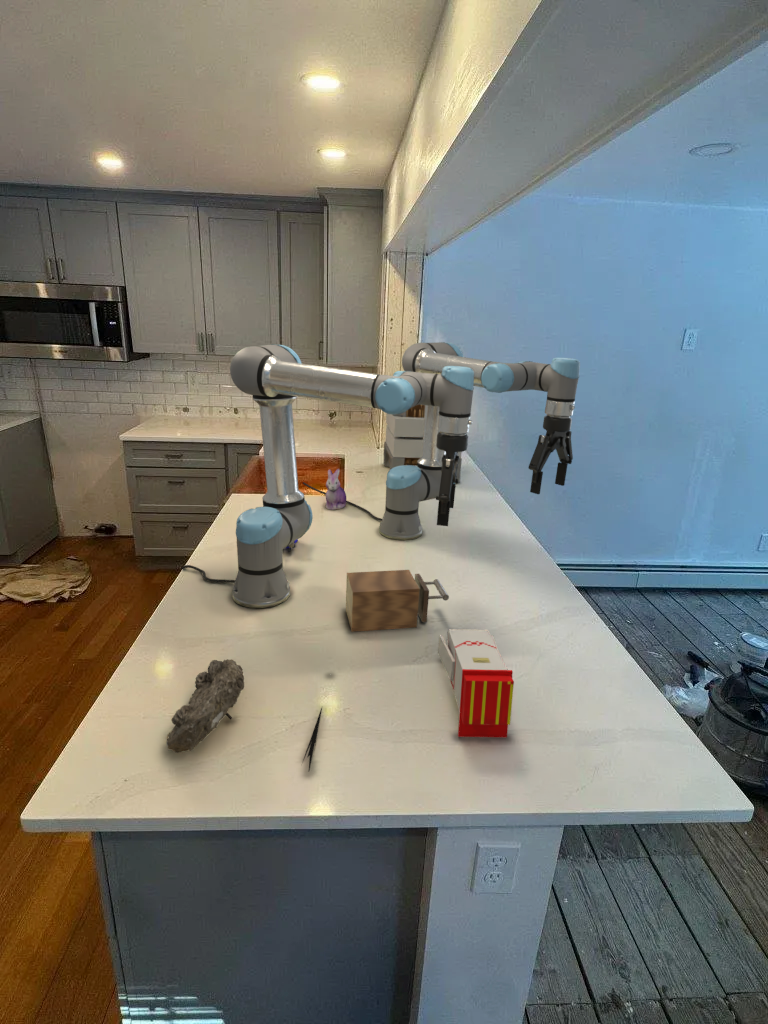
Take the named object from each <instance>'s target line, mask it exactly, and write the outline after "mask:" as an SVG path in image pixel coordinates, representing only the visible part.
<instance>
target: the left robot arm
mask: <svg viewBox="0 0 768 1024" xmlns="http://www.w3.org/2000/svg"><path fill="white" fill-rule="evenodd" d="M229 372H230V373H229V374H230V377H231V378H230V379H231V380H232V383H233V384H234V385H235V387H236V388H237V389H238V390H239V391H241V392H243V393H244V394H246V395H250V396H252V400H253V401H254V402H255V403H257V405H258V407H259V416H260V417H259V418H260V427H261V438H262V450H263V460H264V471H265V482H266V483H265V484H266V493H265V494H264V495H263V496H262V499H261V500H262V506H256V507H255V508H248V509H246V510H245V511H242V513H240V515H238V517H237V519H236V524H235V525H236V526H235V536H236V551H237V554H236V555H237V573H236V577H235V579H220V578H219V579H218V578H217V579H216V578H210V577H207V574H206V572H205V571H204V570H203V569H201V568H199V567H197V566H195V565H191V564H185V565H183V566H181V568H180V570H185V569H193V570H195V571H197V572H199V573H201V574H202V578H203V579H204V580H205V581H207V582H211V583H228V584H229V583H233V585H232V586H233V587H232V592H231V594H232V600H233V601H234V603H236V604H238V605H240V606H242V607H245V608H251V609H264V608H265V609H266V608H271V607H275V606H278V605H280V604H283V603H284V602H286V601H287V600H288V599H289V598H290V595H291V587H290V581H289V579H288V578H287V575H286V572H285V569H284V566H283V564H284V563H283V561H284V560H283V550H285V549H287V548H286V547H287V546H289V545H290V544H291V543H293V542H294V541H295V540H297V539H298V540H299V539H301V538H302V537H303V536H304V535H305V534H306V533H307V532H308V531H309V529H310V528H311V526H312V524H313V518H314V517H313V510H312V507H311V505H310V504H308V502H307V500H306V497H305V493H304V492H302V491H301V490H300V489H299V479H298V478H299V477H298V466H297V465H298V464H297V453H296V439H295V427H294V426H295V425H294V413H293V403H294V401H296V399H297V398H303V399H310V400H317V401H325V402H330V403H338V404H345V405H350V406H358V407H365V408H372V409H376V410H380V411H382V412H383V413H385V414H386V413H387V414H401V413H404V412H405V411H407V410H408V409H410V408H412V407H414V406H416V405H429V406H439V415H438V427H437V430H438V431H439V433H438V434H437V442H436V447H437V448H438V449H440V450H444V451H445V452H446V454H445V455H443V457H442V469H441V474H442V475H441V483H440V490H439V496H436V498H435V501H438V505H437V517H436V518H437V519H436V526H440V527H441V526H442V527H449V520H450V510H451V509H454V507H455V498H456V497H455V495H456V485H457V484H459V483H460V482H459V479H456V478H457V468H458V463H459V456H458V452H462V453H463V452H465V451H467V450H468V447H469V446H468V445H469V435H468V433H470V425H473V420H471V416H472V415H471V414H472V413H471V412H472V406H473V405H472V404H473V395H474V390H475V386H473V385H474V371H473V370H472V369H471V368H468V367H462V366H445V367H444V368H443V370H442V373H441V374H430V373H420V372H411V371H404V370H397V371H395V372H394V373H393V374H392V375H388V374H380V373H372V372H365V371H358V370H351V369H343V368H336V367H328V366H321V365H312V364H306V363H302V360H301V359H300V357H299V355H298V354H297V353H296V352H295V350H293V349H292V348H291V347H290V346H287V345H284V344H275V343H272V344H263V345H251V346H247V347H244V348H242V349H240V350H238V351H237V352H236V354H234V355H233V357H232V359H231V361H230V366H229ZM458 482H459V483H458ZM453 483H455V484H453ZM442 494H444V495H442Z"/></svg>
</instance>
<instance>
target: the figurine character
mask: <svg viewBox="0 0 768 1024" xmlns="http://www.w3.org/2000/svg"><path fill="white" fill-rule="evenodd" d="M297 542H299V539H297V540H295V541H294V542H293V543H291V544H290V545H289V546H287V547H286V548H285V549H288V553H291V552H292V549H294V548H295V546H296V543H297Z"/></svg>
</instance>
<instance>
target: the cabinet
mask: <svg viewBox="0 0 768 1024" xmlns="http://www.w3.org/2000/svg"><path fill="white" fill-rule="evenodd" d="M345 586H346V588H345V613H346V616H347V620H348V623H349V627H350V631H351V633H353V632H370V631H381V630H382V631H384V630H397V629H398V630H399V629H413V628H417V627H418V617H419V615H418V602H419V587H418V585H417V583H416V581H415V577H414V576H413V574H412V572H411V571H410V569H400V570H399V569H398V570H397V569H396V570H377V571H356V572H346V585H345Z"/></svg>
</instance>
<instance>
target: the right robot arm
mask: <svg viewBox="0 0 768 1024" xmlns="http://www.w3.org/2000/svg"><path fill="white" fill-rule="evenodd" d="M401 364H402V366H401V367H402V369H403V371H411V372H420V373H430V374H441V373H442V370H443V368H444V367H445V366H462V367H468V368H471V369H472V370H473V371H474V385H473V387H477V388H482V389H485V390H486V391H487V392H490V393H498V394H501V393H506V392H507V393H508V392H520V391H538V392H539V391H540V392H544V393H545V392H546V401H545V408H544V414H545V415H544V416H543V423H542V428H543V430H545V435H543V434H539V436H538V439H537V444H536V446H535V449H534V451H533V454H532V457H531V459H530V462H529V464H528V470H530V471H532V475H531V481H530V482H531V483H530V488H529V490H530V491H529V493H531V494H535V495H540V494H541V488H542V483H543V475H544V471H542V470H543V468H544V467H545V465H546V463H547V461H548V459H549V457H550V455H551V454H552V453H553V452H554V451H556V453H557V457H558V459H559V462H557V466H556V474H555V479H554V484H556V485H558V486H562V487H564V486H565V485H566V484H565V483H566V478H567V477H566V476H567V470H568V465H572V463H573V459H574V457H573V456H574V455H573V446H572V445H573V444H572V431H571V430H572V429H571V428H572V423H573V418H572V417H573V415H574V410H575V408H576V406H575V403H576V394H577V389H578V383H579V379H580V369H581V362H580V360H579V359H577V358H572V357H571V358H570V357H554V358H552V360H551V363H543V362H536V361H535V362H534V361H533V360H532V361H531V360H521V361H518V362H514V363H513V362H500V361H494V360H493V361H491V360H486V359H478V358H473V357H466V356H464V353H463V352H462V350H461V349H460V347H459V346H458V345H457V344H455V343H451V342H445V341H443V342H442V341H441V342H440V341H439V342H438V341H437V342H415V343H413V344H411V345H410V346H408V347H407V348H406V349H405V351H404V352H403V355H402V357H401ZM438 415H439V406H429V405H425V412H424V429H423V446H422V457H421V458H420V459H419V460H418V461H417V466H413V465H401V466H397V467H394V468H392V469H390V468H389V470H388V472H387V475H386V479H385V504H384V505H385V507H384V508H385V509H384V513H383V515H382V518H380V517H378V516H375V515H374V514H373V513H371V511H369V510H367V509H366V508H364V507H363V506H360V505H358V504H356V503H353V502H351V501H349V500H346V504H348V505H351V506H353V507H355V508H357V509H359V510H361V511H363V512H365V513H366V514H367V515H369V516H370V517H371V518H373V519H374V520H377V521H379V526H378V533H379V534H380V535H381V536H382V537H385V538H387V539H389V540H395V541H410V540H415V539H418V538H420V537H421V536H422V535H423V525H422V524H421V518H420V515H419V507H420V506H419V505H420V503H421V502H425V501H430V500H436V496H439V490H440V483H441V475H442V474H441V469H442V457H443V455H445V454H446V452H445V451H444V450H440V449H438V448H437V447H436V442H437V434H438V433H439V431H438V430H437V427H438ZM453 484H456V483H453ZM302 485H304V486H306V487H307V488H309V489H310V490H313V491H315V492H317V493H319V494H323V495H324V496H326V492H324V491H323V490H320V489H318V488H316V487H313V486H312V485H309V484H308V483H306V482H302ZM442 495H444V494H442Z"/></svg>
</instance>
